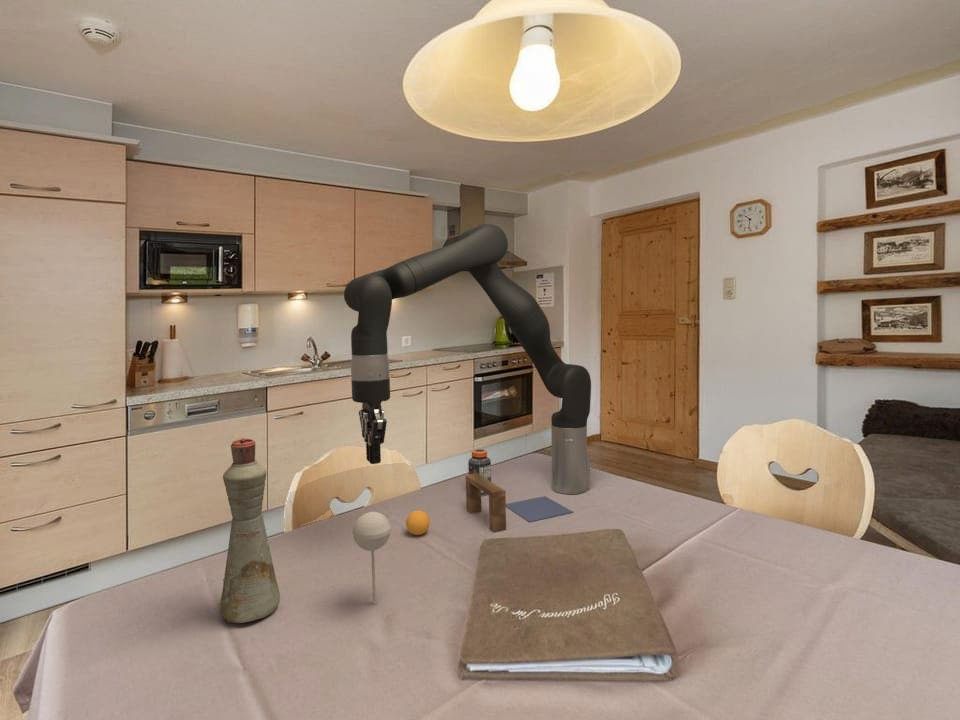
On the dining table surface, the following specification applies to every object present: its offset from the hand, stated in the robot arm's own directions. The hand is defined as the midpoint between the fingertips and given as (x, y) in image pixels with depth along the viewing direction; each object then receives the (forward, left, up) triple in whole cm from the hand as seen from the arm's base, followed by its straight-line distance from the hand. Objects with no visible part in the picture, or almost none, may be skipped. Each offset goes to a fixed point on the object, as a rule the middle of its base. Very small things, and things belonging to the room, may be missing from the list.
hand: (373, 461), depth 103 cm
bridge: (-25, 0, -17) cm, 30 cm away
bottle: (+24, +15, -17) cm, 33 cm away
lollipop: (+6, +22, -17) cm, 29 cm away
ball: (-9, 0, -15) cm, 17 cm away
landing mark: (-39, 0, -17) cm, 43 cm away
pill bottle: (-32, -17, -17) cm, 40 cm away
